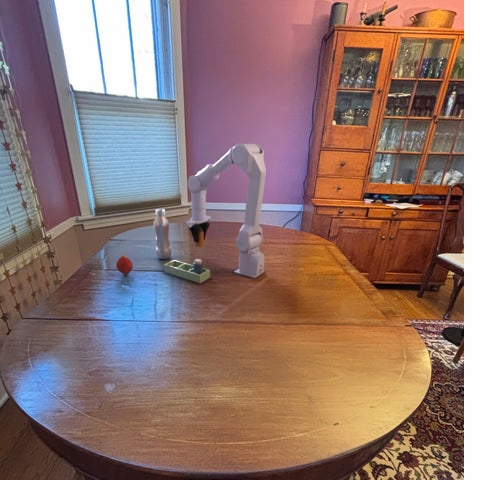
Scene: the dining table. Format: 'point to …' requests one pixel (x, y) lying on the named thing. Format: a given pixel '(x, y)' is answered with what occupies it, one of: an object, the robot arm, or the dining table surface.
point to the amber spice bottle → (200, 239)
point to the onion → (124, 265)
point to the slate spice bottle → (198, 266)
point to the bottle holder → (185, 271)
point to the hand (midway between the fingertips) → (199, 241)
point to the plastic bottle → (162, 235)
